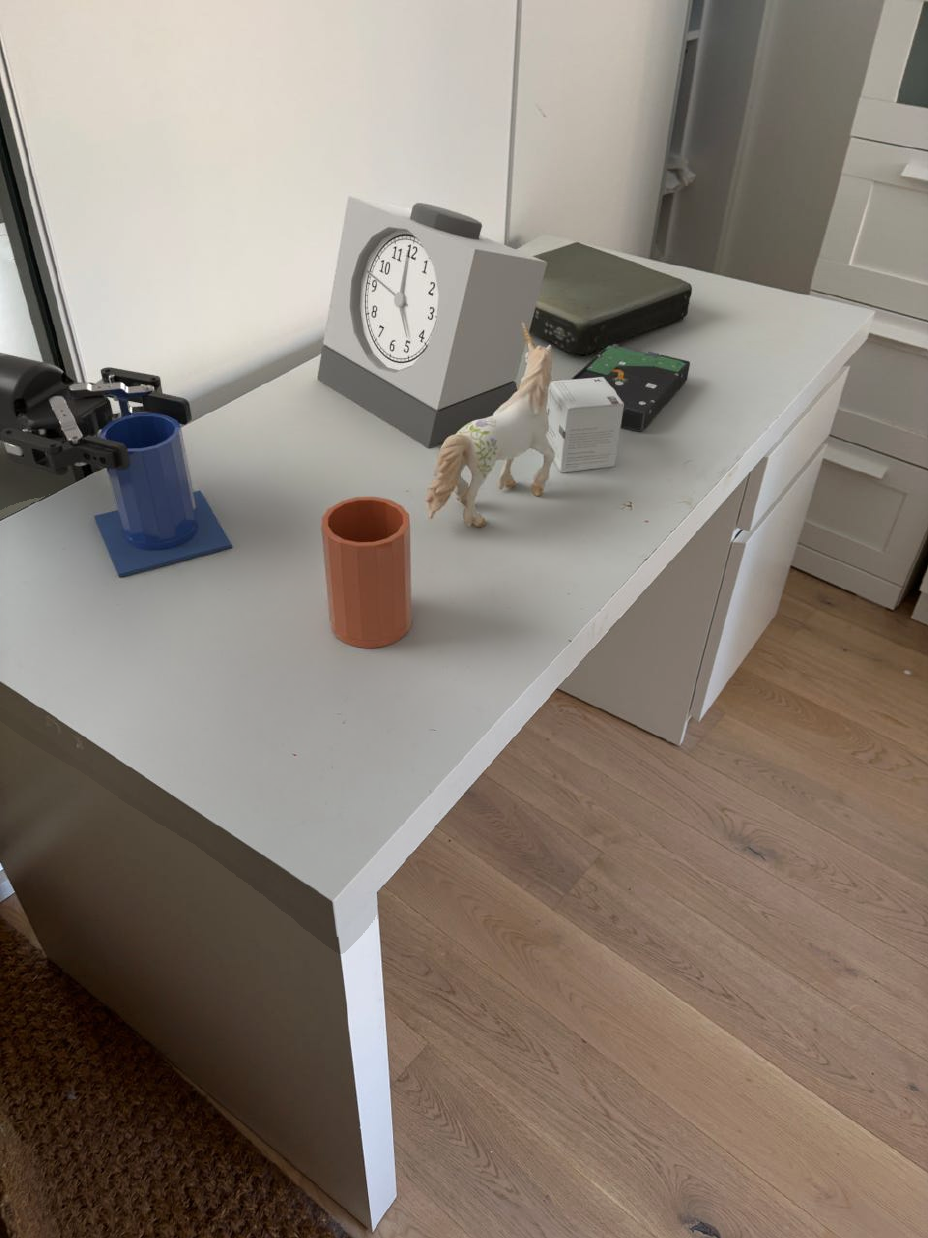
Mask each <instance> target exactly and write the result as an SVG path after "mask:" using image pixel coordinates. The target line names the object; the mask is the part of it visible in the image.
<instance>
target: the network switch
mask: <svg viewBox="0 0 928 1238" xmlns="http://www.w3.org/2000/svg"><path fill="white" fill-rule="evenodd" d="M532 256H533V257H535V258H538V259H540V260H543V261H545V262H547V266H546V269H545V273H544V277H543V281H542V284H541V288H540V292H539V296H538V299H537V303H536V307H535V311H534V314H533V318H532V322H531V326H530V329H529V333H532V334H533V335H535V336H537V337H540V338H542V339H544V340H547V341H548V342H551V343H553V344H554V345H555V346H557V347H558V348H559V349H561V350H563V351H565V352H567V353H570V354H571V353H572V354H580V355H583V356H587V355H588V354H593V353H595V352H600V351H602V350H603V349H605V348H607V347H608V346H612V345H613V344H616V343H618V342H622V341H626V340H627V339H631V338H634V337H636V336H637V335H639V334H641V333H644V332H645V333H646V332H649V331H652V330H655V329H657V328H661V327H668V326H669V325H672V324H674V323H678V322H681V321H682V320H684V318H685V317H686V316H687V315H688V313H689V307H690V302H691V301H690V300H691V297H692V294H693V286H692V284H691V283H690V282H687V281H686V280H683V279H682V278H679V277H675V276H672V275H671V274H667V273H665V272H662V271H659V270H656V269H653V268H651V267H648V266H645V265H642V264H640V263H638V262H636V261H632V260H630V259H626V258H624V257H621V256H617V254H616V255H615V254H612V253H610V252H607V251H605V250H601V249H598V248H596V247H592V246H590V245H586V244H583V243H581V242H579V241H575V242H572V243H569V244H566V245H563V246H561V247H558V248H554V249H551V250H548V251H544V252H541V253H539V254H535V255H532Z"/></svg>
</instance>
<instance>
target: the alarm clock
mask: <svg viewBox="0 0 928 1238" xmlns="http://www.w3.org/2000/svg"><path fill="white" fill-rule="evenodd" d="M344 213H345V214H344V220H343V224H342V225H343V226H342V232H341V237H340V243H339V249H338V253H337V254H338V255H337V260H336V266H335V272H334V278H333V284H332V290H331V294H330V302H329V307H328V311H327V312H328V313H327V318H326V325H325V330H324V336H323V342H322V344H323V345H322V346H321V352H320V359H319V366H318V372H317V377H316V378H317V380H318V381H320V382H321V383H323V384H325V385H326V386H328V387H330V388H331V389H333V390H334V391H336V392H337V393H339V394H341V395H342V396H344V397H346V398H347V399H349V400H351V401H352V402H354V403H355V404H357V405H358V406H360V407H362V408H363V409H364V410H366V411H368V412H369V413H371V414H373V415H374V416H376V417H378V418H379V419H381V420H382V421H384V422H385V423H387V424H389V425H390V426H392V427H394V428H395V429H396V430H398V431H400V432H401V433H403V434H405V435H406V436H408V437H409V438H411V439H413V440H414V441H416V442H417V443H419V444H421V445H422V446H424V447H426V448H427V449H430V448H433V447H435V446H438V445H440V444H443V443H444V441H445V440H446V439H447V438H448V437H449V436H451V435H455V434H456V433H457V432H458V431H459V430H460V429H461V428H462V427H464V426H465V425H467V424H468V423H470V422H472V421H475V420H479V419H484V418H488V417H490V416H493V414H494V412H495V411H496V410H497V409H498V408H499V407H500V406H501V405H502V404H504V403H505V402H506V401H508V400H509V399H510V398H511V397H512V395H513V394H514V393H515V392H516V391H518V387H517V383H516V382H517V381H516V380H517V378H518V375H519V370H520V367H521V363H522V359H523V356H524V352H525V348H526V345H527V342H526V339H525V335H524V332H523V327H522V323H523V322H524V323H525V325H526V326H527V329H528V332H529V329H530V326H531V322H532V318H533V314H534V311H535V307H536V303H537V299H538V296H539V292H540V288H541V284H542V281H543V277H544V273H545V269H546V266H547V262H545V261H543V260H540V259H538V258H535V257H533V256H534V255H531V254H528V253H525V252H523V251H520V250H518V249H516V248H513V247H510V246H508V245H505V244H503V243H501V242H498V241H497V240H493V239H491V238H488V237H486V236H483V235H481V232H482V228H483V223H482V222H481V221H479V220H478V219H476V218H473V217H471V216H469V215H466V214H463V213H460V212H458V211H454V210H451V209H447V208H445V207H441V206H436V205H433V204H429V203H428V204H427V203H422V202H416V203H415V204H413V205H412V207H411V208H408V207H404V206H403V207H402V206H399V205H393V204H390V203H384V202H380V201H374V200H371V199H365V198H362V197H356V196H351V195H348V197H347V202H346V206H345V212H344ZM529 333H530V332H529Z"/></svg>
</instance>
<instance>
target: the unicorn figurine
mask: <svg viewBox="0 0 928 1238" xmlns="http://www.w3.org/2000/svg"><path fill="white" fill-rule="evenodd" d="M522 327H523V332H524V335H525V339H526V345H527V349H528V351H527V352H526V353H525V356H524V357H525V359H524V363H525V369H524V374H523V377H522V378H521V379H520V385H519V388H517V391H516V392H515V393H514V394H513V395H512V397H511V398H510V399H509V400H508V401H506V402H505V403H504V404H502V405H501V406H500V407H499V408H498V409H497V410H496V411H495V412H494V414H493V416H490V417H488V418H484V419H479V420H475V421H472V422H470V423H468V424H467V425H465V426H464V427H462V428H461V429H460V430H459V431H458V432H457V433H456V434H455V435H451V436H449V437H448V438H447V439H446V440H445V441H444V442H442V445H441V446H440V449H439V451H438V453H437V462H436V466H435V468H434V470H433V475H434V476H435V478H434V480H433V482H432V483H430V484H429V485H428V486H427V489H428V490H429V491H428V492H427V494H426V496H425V502H427V511H428V512H429V514H428V519H429V520H432V519H433V517H434V515H435V514H436V513H437V512H438V511H440V510H441V509H442V507H444V506H445V505H446V504H447V502H448V500H449V499H450V498H451V496H452V493H453V492H454V494H455V495H456V500H457V501H459V502H460V503H461V504H463V505H464V506H465V507H464V509H463V511H462V518H463V524H464V525H465V526H466V527H467V528H468V527H470V526H471V524H473V525H474V526H475V527H476V528H482V527H484V526H485V525H486V519H485V517H483V515H482V514H481V513H478V512H477V511H476V507H475V502H476V498H477V496H478V493H479V490H480V488H481V487H482V486H483V485H484V484H485V482H486V480H487V478H488V477H489V475H490V473H491V472H492V471H493V469H494V468H495V466H496V462H498V461H504V463H503V467H502V470H501V471H500V472H499V473H500V474H499V477H498V480H497V488H498V489H499V490H502V489H503V488H504V485H505V486H506V488H508V489H512V488H513V487H515V486H516V480H515V478H514V476H513V475H512V474H511V472H512V470H511V469H512V468H511V467H512V463H513V461H514V460H515V458H518V457H519V456H521V455H523V454H524V453H525V452H526V451H527V450H529V449H533V450H535V451H536V452H538V453H540V454H541V455H543V463H542V466H541V467H540V468H539V469H538V470H536V472H535V473H534V474H533V476H532V479H533V480H532V483H531V485H530V491H531V493H532V494H533V495H534V496H535V497H541V496H542V494H543V492H544V490H545V489H546V483H547V482H548V481H549V478H550V470H551V467H552V464H553V462H554V458H555V453H554V450H553V449H552V447H551V446H550V444H549V442H548V440H547V438H546V434H547V432H548V430H549V420H548V413H547V410H546V409H547V407H546V403H547V399H548V388H547V387H549V385H550V383H551V381H552V371H553V364H552V362H553V360H554V357H553V355H552V354H551V353H552V350H553V349H552V345H551V344H549V345H548V346H547V347H545V346H542V345H538V346H537V347H536V345H535V343H534V341H533V338H532V336H531V334H530V332H528V329H527V326H526V325H525V323H524V322H523V323H522ZM466 467H467V468H468V469H469V471H470V474H471V481H470V484H469V482H467V480H466V479H464V478H463V476H462V472H463V470H464V469H465V468H466Z"/></svg>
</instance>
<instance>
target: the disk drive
mask: <svg viewBox="0 0 928 1238" xmlns="http://www.w3.org/2000/svg"><path fill="white" fill-rule="evenodd" d="M690 366H691V361H689V360H685V359H681V358H678V357H677V358H676V357H674V356H673V357H672V356H668V355H664V354H660V353H657V352H653V351H647V352H646V351H643V350H642V351H641V350H637V349H633V348H629V347H624V346H621V345H620V346H619V344H618V343H613V344H611V345H609V346H607V347H605V348H603V349H601V350H600V351H599V352H598V354H597V355H595V356H594V357H593V358H592V359H591V360H590V361H589V362H588V363H587V364H586V365H585V366H584V367H582V369H580V370H579V371H578V372H577V373H576V374H575V375H574V376H573V377H572V378H571V379H570V380H574V379H587V378H597V377H604V378H605V380H606V381H607V382H608V383H609V385H610V386H611V387H612V388H613V389H614V390H615V391H616V393H617V395H618V396H619V398H620V399H621V400H622V402H623V403H624V408H623V414H622V421H621V428H623V429H627V430H634V431H635V432H637V431H638V432H644V430H645V429H647V428H648V426H649V425H650V424H652V422H653V421H654V419H655V418H656V417H657V416H658V415H659V414H660V413H661V411H662V410H663V409H664V408H665V406H666V405H667V404H668V403H669V402H670V401H672V399H673V397H674V396H675V395H676V394H677V393H678V392H679V391H680V390H681V388H682V387H683V386H684V384H686V382H687V381H688V377H689V371H690Z"/></svg>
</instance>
